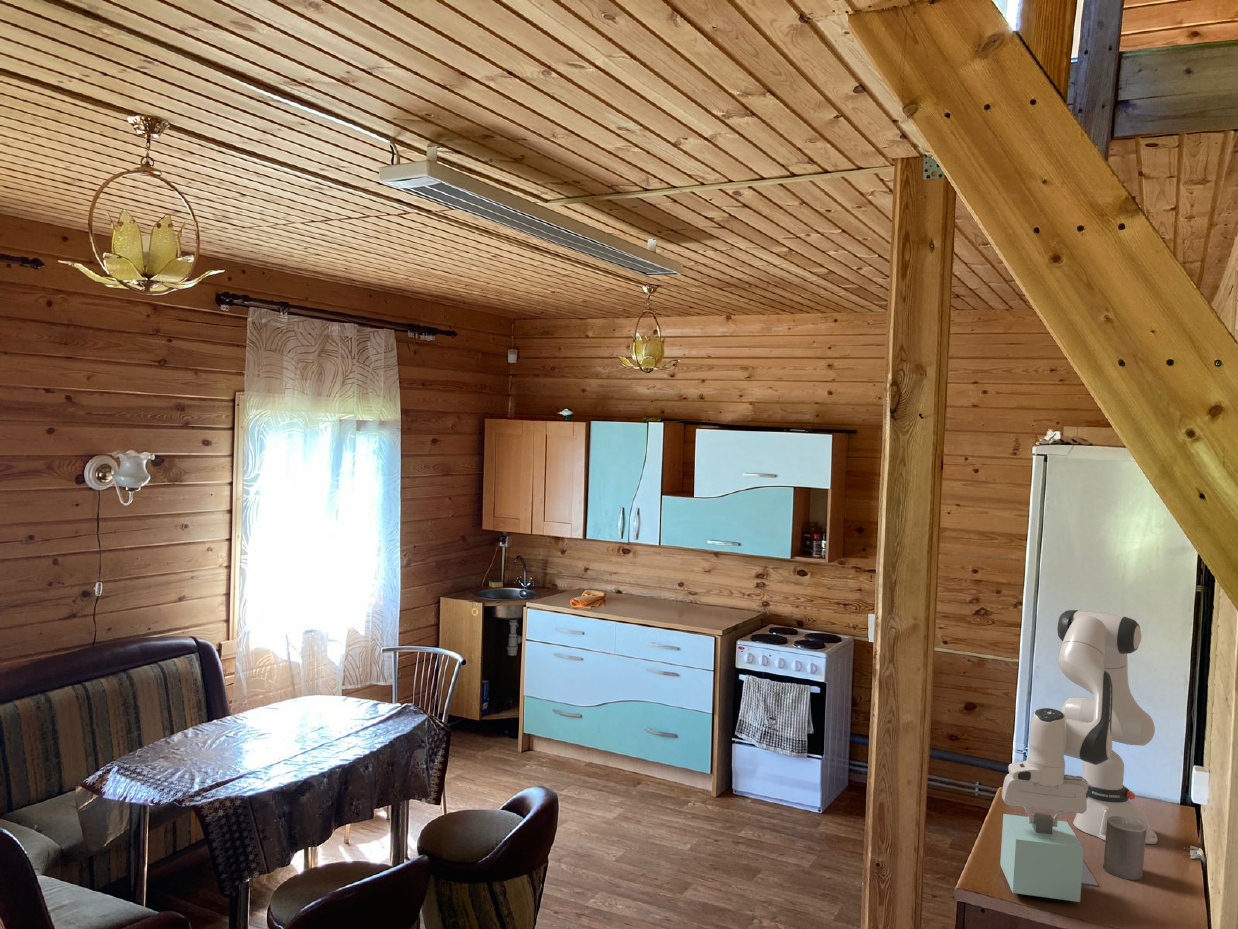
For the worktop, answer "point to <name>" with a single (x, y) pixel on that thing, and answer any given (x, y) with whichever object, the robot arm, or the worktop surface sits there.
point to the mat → (1087, 877)
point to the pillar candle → (1124, 847)
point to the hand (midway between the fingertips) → (1042, 824)
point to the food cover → (1041, 857)
